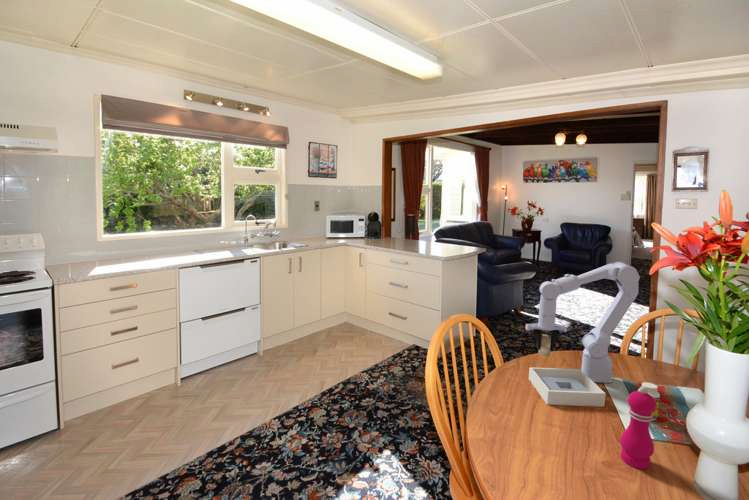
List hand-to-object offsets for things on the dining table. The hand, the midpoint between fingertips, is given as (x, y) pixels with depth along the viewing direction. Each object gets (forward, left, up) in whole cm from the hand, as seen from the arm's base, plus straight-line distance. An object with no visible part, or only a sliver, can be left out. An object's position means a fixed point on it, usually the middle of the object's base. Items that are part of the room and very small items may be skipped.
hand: (544, 348), depth 153 cm
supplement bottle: (-21, +29, -10) cm, 37 cm away
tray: (-2, +15, -9) cm, 18 cm away
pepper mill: (-5, +51, -10) cm, 52 cm away
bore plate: (-2, +16, -9) cm, 19 cm away
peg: (0, 0, -2) cm, 2 cm away
